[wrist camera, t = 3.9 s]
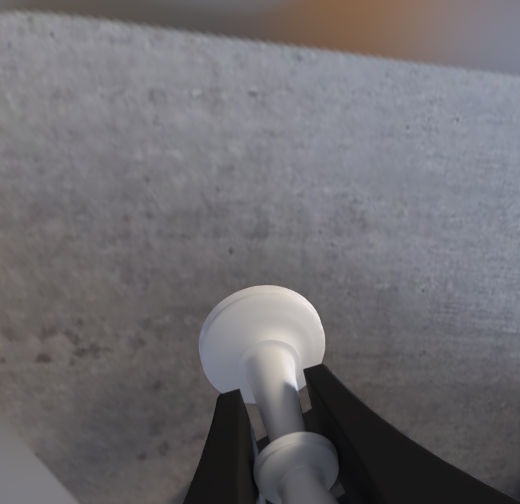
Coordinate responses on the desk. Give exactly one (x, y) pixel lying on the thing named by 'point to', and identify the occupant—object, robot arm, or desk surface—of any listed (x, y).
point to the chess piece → (273, 385)
